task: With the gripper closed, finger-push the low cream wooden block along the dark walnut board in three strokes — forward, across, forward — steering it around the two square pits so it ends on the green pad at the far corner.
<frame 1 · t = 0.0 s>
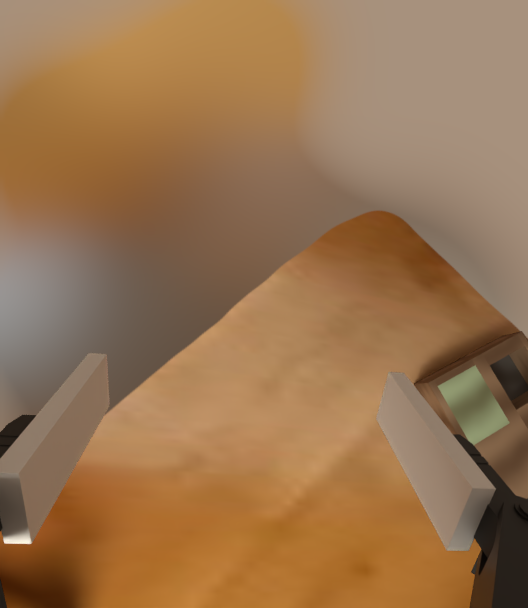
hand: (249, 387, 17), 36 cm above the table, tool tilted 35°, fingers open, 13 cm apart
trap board: (509, 443, 54), on the table
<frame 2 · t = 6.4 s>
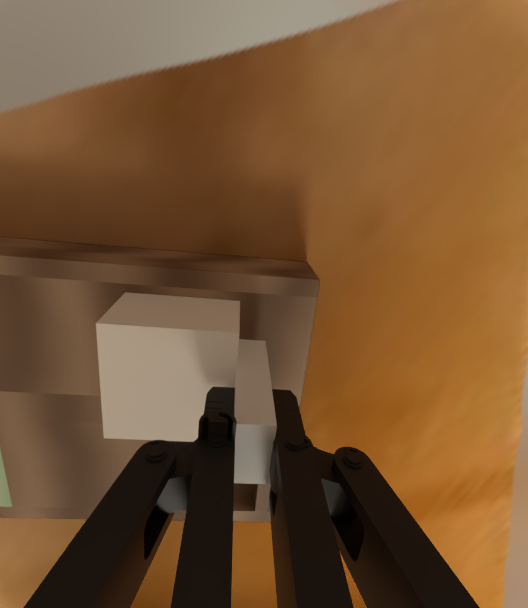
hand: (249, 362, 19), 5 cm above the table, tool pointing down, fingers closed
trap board: (90, 372, 24), on the table
block: (182, 347, 20), point 4 cm above the table, touching gripper
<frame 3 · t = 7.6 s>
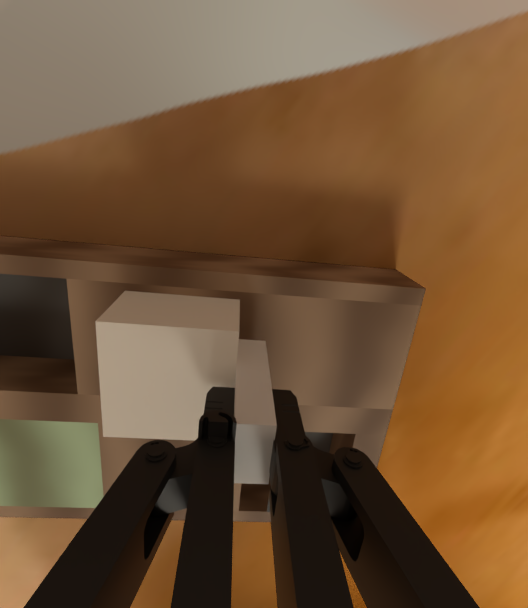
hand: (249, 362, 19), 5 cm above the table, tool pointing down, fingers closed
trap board: (177, 376, 25), on the table
block: (182, 345, 20), point 4 cm above the table, touching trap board
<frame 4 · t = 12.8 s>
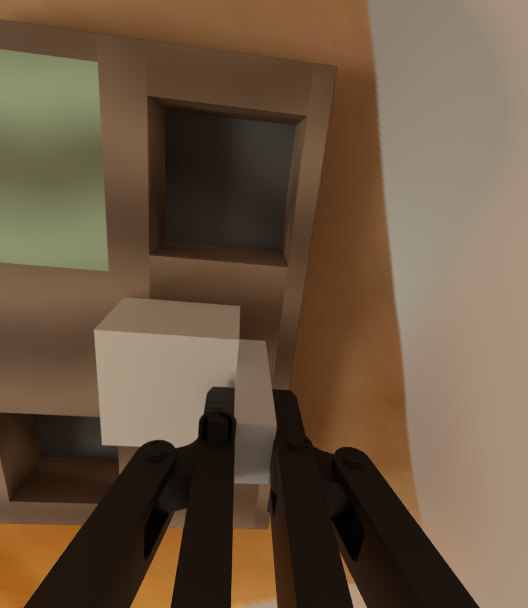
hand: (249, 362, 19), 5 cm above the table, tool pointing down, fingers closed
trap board: (149, 315, 23), on the table
block: (181, 352, 20), point 4 cm above the table, touching gripper
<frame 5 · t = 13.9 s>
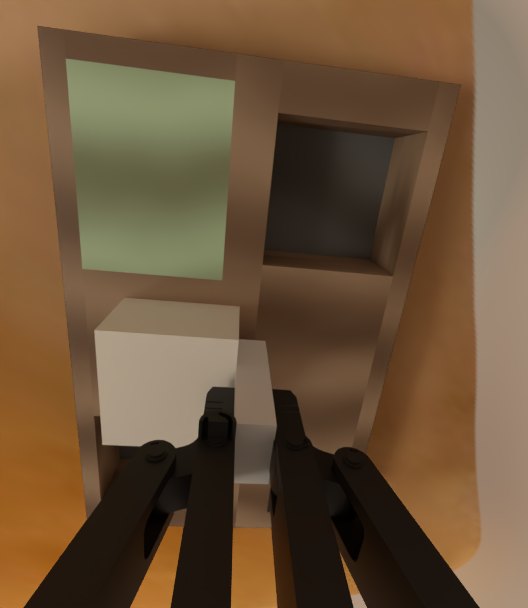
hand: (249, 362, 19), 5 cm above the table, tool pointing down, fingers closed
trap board: (236, 321, 24), on the table
block: (181, 352, 20), point 4 cm above the table
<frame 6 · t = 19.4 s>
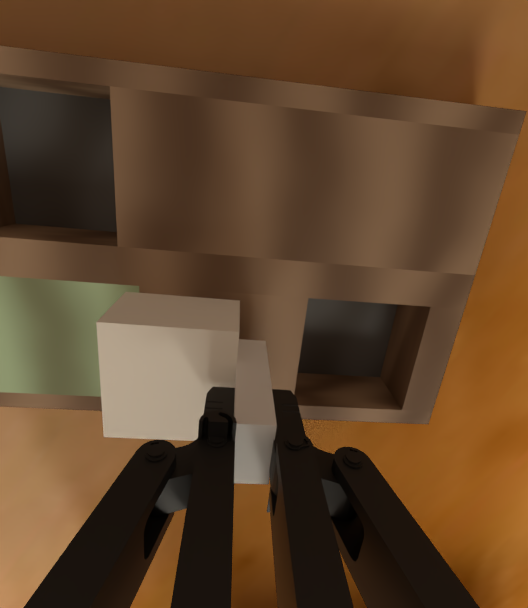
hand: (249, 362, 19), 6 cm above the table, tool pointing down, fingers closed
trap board: (221, 256, 22), on the table
block: (182, 346, 20), point 4 cm above the table, touching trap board
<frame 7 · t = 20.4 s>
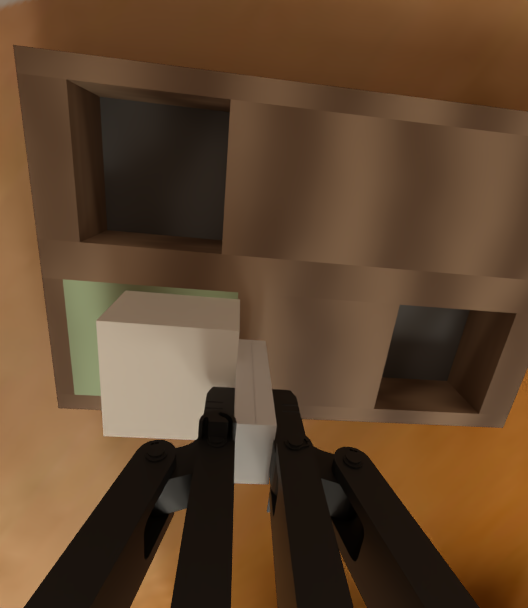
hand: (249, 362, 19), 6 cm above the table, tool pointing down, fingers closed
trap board: (302, 262, 23), on the table
block: (182, 345, 20), point 4 cm above the table
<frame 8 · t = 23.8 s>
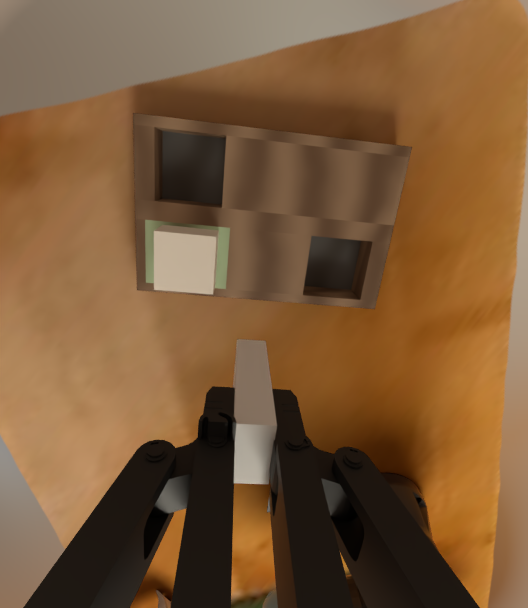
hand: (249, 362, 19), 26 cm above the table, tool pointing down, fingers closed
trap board: (265, 217, 42), on the table
block: (190, 254, 39), point 4 cm above the table, touching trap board
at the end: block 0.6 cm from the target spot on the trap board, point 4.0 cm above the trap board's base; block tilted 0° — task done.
